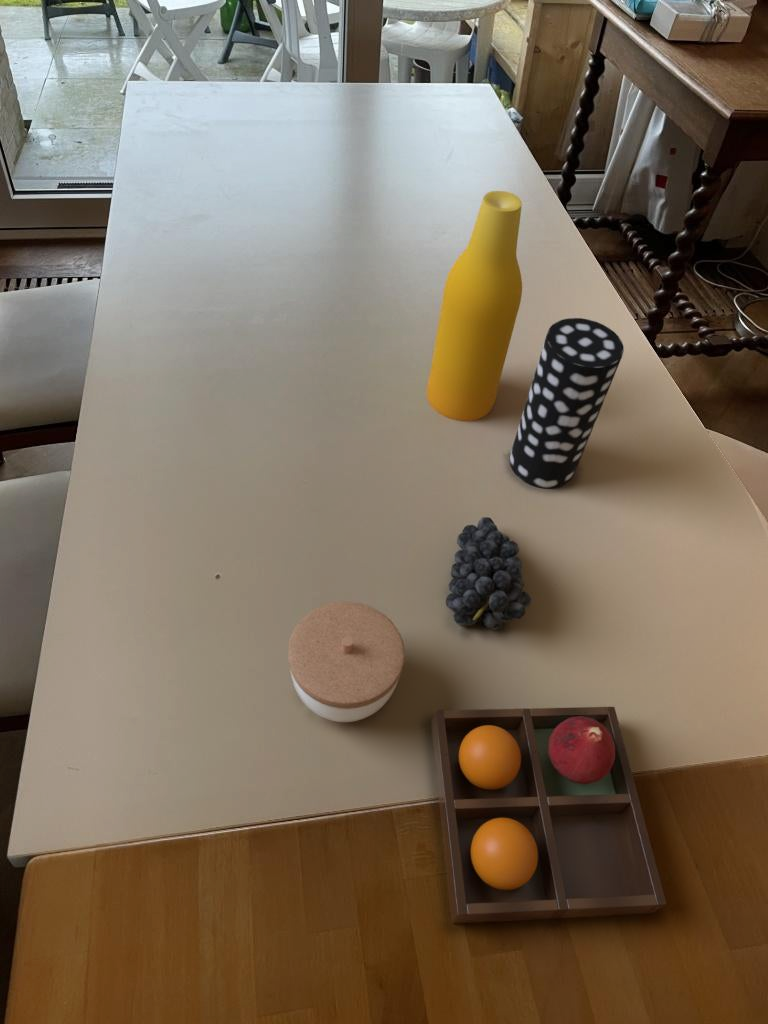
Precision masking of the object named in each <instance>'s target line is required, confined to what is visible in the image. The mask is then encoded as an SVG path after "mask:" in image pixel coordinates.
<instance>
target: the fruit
mask: <svg viewBox="0 0 768 1024" xmlns="http://www.w3.org/2000/svg"><path fill="white" fill-rule="evenodd" d="M456 544H457V545H458V547H459V548H460V549H459V550H457V551H456V553H455V554H454V562H455V563H454V564H452V566H451V570H450V576H451V581H450V582H449V583H448V588H449V591H450V592H451V593H449V594H448V595H447V596H446V598H445V605H446V607H447V608H448V609H450V610H451V611H452V612H453V619H454V622H455V623H456V624H457V625H458V626H461V627H469V626H470V627H471V626H473V625H474V624H476V623H478V622H480V623H481V622H483V624H484V626H485V627H486V628H487V629H489V630H491V631H496V630H499V629H500V628H502V626H503V624H504V623H509V622H512V621H513V620H514V619H515V620H520V619H521V618H523V616H525V614H526V608H528V607H529V606H530V604H531V602H532V597H531V596H530V594H529V592H526V591H524V587H525V582H524V578H522V577H523V573H522V571H523V570H522V569H523V561H522V560H521V558H520V557H519V556H517V555H518V554H519V552H520V546H519V545H518V543H517V542H515V541H514V540H511V539H510V537H509V536H507V535H505V534H503V533H502V532H501V531H499V529H498V527H497V524H495V522H494V521H493V519H492V517H488V516H484V517H483V516H482V517H481V518H480V519H479V520H478V521H477V526H476V525H474V524H467V525H466V526H464V528H463V529H462V532H461V533H460V534H458V536H457V538H456Z"/></svg>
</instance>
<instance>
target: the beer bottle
mask: <svg viewBox="0 0 768 1024" xmlns="http://www.w3.org/2000/svg"><path fill="white" fill-rule="evenodd" d="M522 204H523V203H522V200H521V199H520V197H518V196H517V195H515V194H514V193H511V192H509V191H505V190H492V191H489V192H487V193H485V194H484V196H483V198H482V201H481V204H480V206H479V210H478V213H477V216H476V220H475V223H474V225H473V230H472V232H471V236H470V239H469V241H468V243H467V246H466V247H465V249H464V250H463V251H462V253H461V254H460V255H459V256H458V258H457V259H456V260H455V262H454V263H453V265H452V266H451V268H450V271H449V272H448V275H447V278H446V281H445V284H444V288H443V295H442V300H441V308H440V313H439V319H438V325H437V331H436V336H435V341H434V349H433V353H432V360H431V366H430V371H429V376H428V382H427V386H426V397H427V401H428V404H429V405H430V406H431V408H432V409H433V410H434V411H436V413H438V414H439V415H441V416H443V417H445V418H448V419H450V420H454V421H460V422H471V421H476V420H479V419H482V418H484V417H485V416H487V415H489V413H490V412H491V410H492V409H493V407H494V405H495V403H496V399H497V395H498V389H499V385H500V382H501V379H502V378H501V377H502V374H503V370H504V366H505V362H506V358H507V355H508V351H509V347H510V344H511V343H510V342H511V339H512V336H513V331H514V327H515V324H516V320H517V317H518V312H519V310H520V306H521V302H522V294H523V280H522V273H521V269H520V264H519V262H518V257H517V249H518V239H519V230H520V223H521V217H522V214H521V213H522Z"/></svg>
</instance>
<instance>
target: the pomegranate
mask: <svg viewBox="0 0 768 1024" xmlns="http://www.w3.org/2000/svg"><path fill="white" fill-rule="evenodd" d="M548 754H549V757H550V760H551V762H552V765H553V767H554V768H555V769H556V770H557V771H558V772H559V773H560V774H561V775H562V776H563V777H565V778H567V779H569V780H570V781H572V782H575V783H580V784H590V783H594V782H597V781H599V780H601V779H602V778H603V777H604V776H606V775H607V774H608V773H609V772H610V770H611V767H612V765H613V763H614V760H615V744H614V742H613V739H612V737H611V735H610V733H609V732H608V731H607V729H606V728H605V727H604V726H603V724H601V723H599V722H598V721H596V720H595V719H592V718H588V717H584V716H579V717H572V718H568V719H566V720H565V721H563V722H562V723H560V724H559V725H558V726H557V727H556V728H555V730H554V731H553V733H552V734H551V736H550V739H549V748H548Z"/></svg>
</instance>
